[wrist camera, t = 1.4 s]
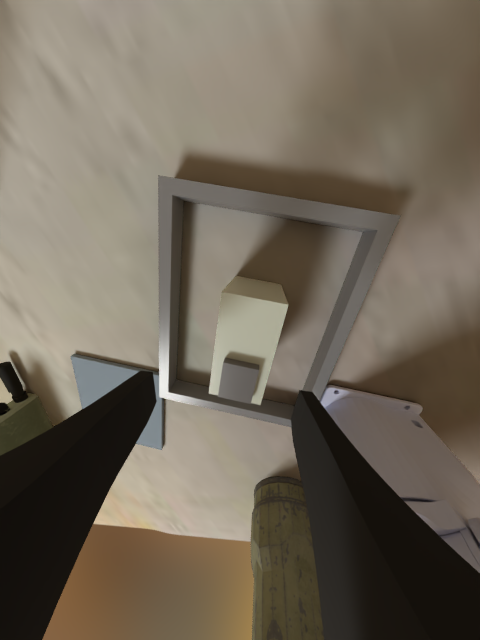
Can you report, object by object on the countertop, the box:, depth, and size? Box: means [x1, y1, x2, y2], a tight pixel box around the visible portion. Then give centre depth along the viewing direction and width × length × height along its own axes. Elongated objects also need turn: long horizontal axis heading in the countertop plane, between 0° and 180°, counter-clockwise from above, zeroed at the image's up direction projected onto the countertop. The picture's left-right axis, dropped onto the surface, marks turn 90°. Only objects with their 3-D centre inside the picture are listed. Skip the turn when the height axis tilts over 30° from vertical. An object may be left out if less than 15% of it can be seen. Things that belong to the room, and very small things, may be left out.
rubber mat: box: [71, 354, 164, 450], centre depth 24 cm, size 11×13×1 cm
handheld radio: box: [0, 362, 53, 455], centre depth 26 cm, size 7×3×25 cm
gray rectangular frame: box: [158, 175, 401, 427], centre depth 17 cm, size 16×20×2 cm
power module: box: [209, 276, 288, 405], centre depth 15 cm, size 4×8×7 cm, turn 171°
